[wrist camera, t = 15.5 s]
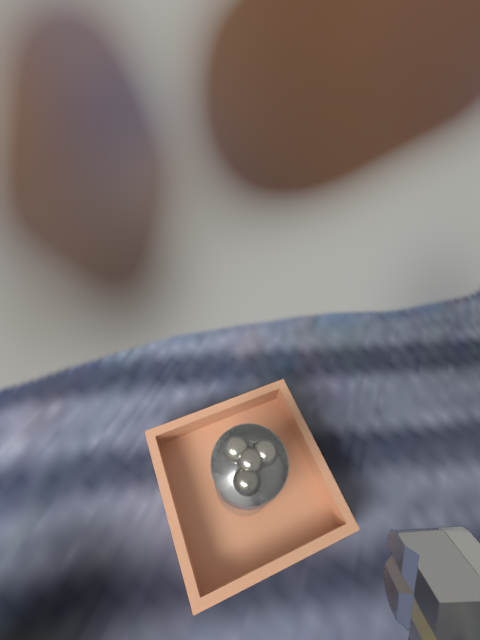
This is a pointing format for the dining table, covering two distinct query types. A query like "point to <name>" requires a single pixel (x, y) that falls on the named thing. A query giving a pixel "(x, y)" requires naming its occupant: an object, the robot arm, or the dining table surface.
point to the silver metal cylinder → (248, 468)
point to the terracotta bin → (233, 530)
